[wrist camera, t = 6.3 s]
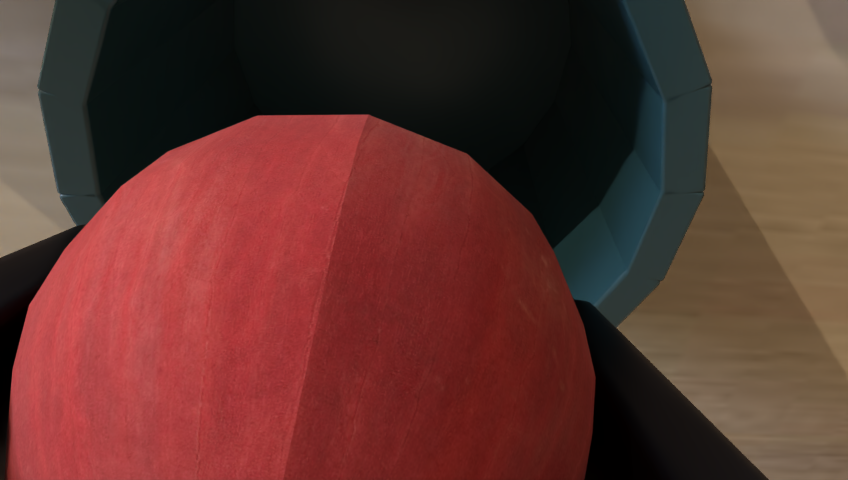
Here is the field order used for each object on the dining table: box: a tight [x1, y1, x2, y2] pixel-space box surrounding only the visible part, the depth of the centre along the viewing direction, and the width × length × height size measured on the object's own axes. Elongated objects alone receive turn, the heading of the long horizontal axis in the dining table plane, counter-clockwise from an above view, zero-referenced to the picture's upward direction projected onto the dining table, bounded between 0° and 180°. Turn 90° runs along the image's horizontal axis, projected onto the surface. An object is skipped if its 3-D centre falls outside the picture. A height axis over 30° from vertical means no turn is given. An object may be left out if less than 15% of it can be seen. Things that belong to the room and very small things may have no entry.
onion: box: [5, 115, 596, 480], centre depth 7 cm, size 6×6×8 cm
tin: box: [38, 0, 712, 328], centre depth 15 cm, size 12×12×10 cm
